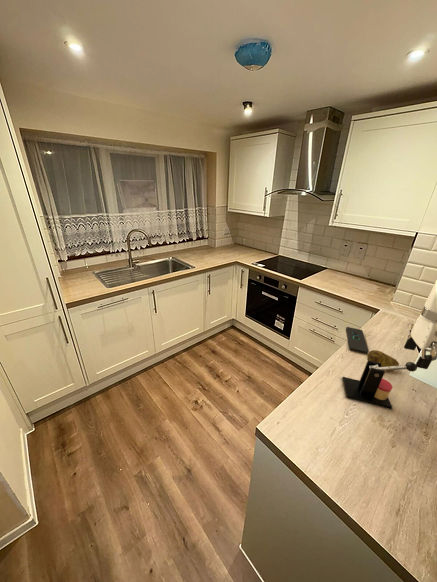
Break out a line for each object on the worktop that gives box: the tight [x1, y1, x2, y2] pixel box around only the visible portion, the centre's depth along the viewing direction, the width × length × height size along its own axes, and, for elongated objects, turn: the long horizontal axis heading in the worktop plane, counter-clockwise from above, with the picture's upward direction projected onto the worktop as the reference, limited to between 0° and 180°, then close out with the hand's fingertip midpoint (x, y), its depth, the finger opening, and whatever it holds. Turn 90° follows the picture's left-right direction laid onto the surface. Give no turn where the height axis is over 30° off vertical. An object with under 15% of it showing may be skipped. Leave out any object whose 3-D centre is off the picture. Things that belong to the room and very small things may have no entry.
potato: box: [366, 349, 400, 373], centre depth 102 cm, size 8×13×8 cm, turn 66°
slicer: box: [341, 360, 393, 410], centre depth 88 cm, size 15×10×14 cm, turn 72°
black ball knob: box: [369, 361, 418, 373], centre depth 84 cm, size 14×3×3 cm, turn 72°
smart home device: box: [345, 326, 369, 355], centre depth 121 cm, size 8×2×20 cm
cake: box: [374, 378, 393, 400], centre depth 88 cm, size 6×6×5 cm
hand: (414, 357), depth 80 cm, fingers open, 9 cm apart
